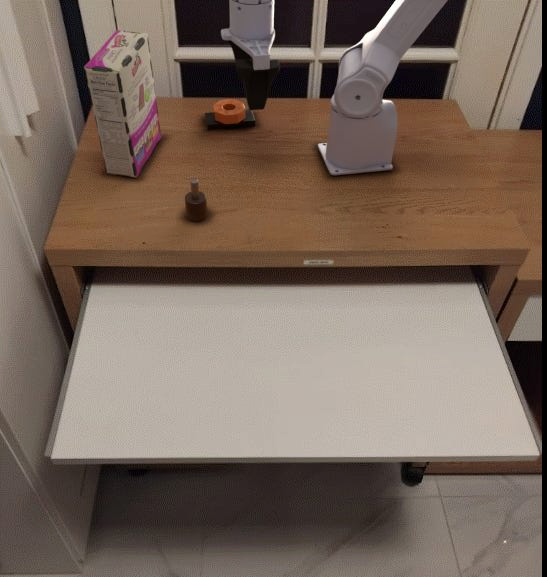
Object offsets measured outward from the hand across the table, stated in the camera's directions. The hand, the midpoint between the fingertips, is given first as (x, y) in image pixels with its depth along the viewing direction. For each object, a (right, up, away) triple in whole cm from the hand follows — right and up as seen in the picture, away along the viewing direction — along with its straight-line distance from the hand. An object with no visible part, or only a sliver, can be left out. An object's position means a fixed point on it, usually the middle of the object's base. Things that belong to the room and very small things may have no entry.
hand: (251, 95), depth 90 cm
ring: (-4, 0, +11) cm, 12 cm away
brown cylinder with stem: (-7, -18, -5) cm, 20 cm away
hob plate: (-4, -1, +12) cm, 12 cm away
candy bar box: (-18, -8, +4) cm, 20 cm away
